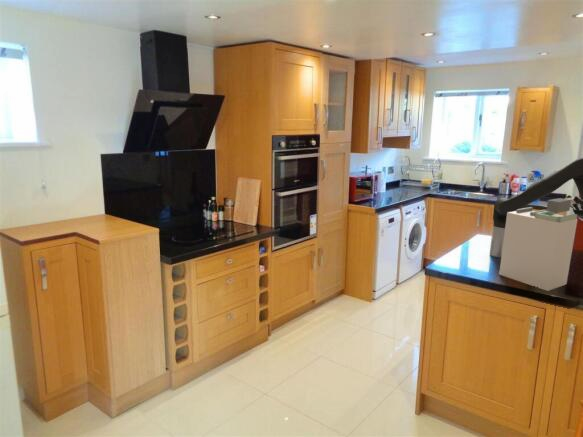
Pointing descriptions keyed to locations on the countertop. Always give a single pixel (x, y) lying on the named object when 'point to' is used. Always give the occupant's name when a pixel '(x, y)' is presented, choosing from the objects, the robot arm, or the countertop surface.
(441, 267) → the countertop surface
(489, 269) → the countertop surface
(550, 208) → the light grey rectangular prism
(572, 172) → the robot arm
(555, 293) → the countertop surface
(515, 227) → the cabinet
